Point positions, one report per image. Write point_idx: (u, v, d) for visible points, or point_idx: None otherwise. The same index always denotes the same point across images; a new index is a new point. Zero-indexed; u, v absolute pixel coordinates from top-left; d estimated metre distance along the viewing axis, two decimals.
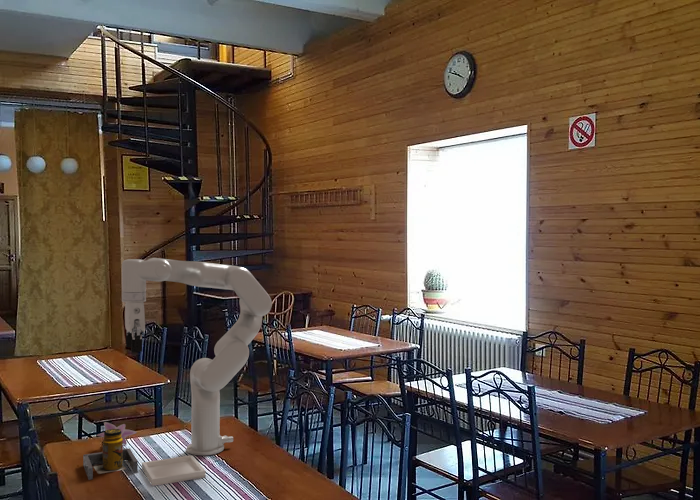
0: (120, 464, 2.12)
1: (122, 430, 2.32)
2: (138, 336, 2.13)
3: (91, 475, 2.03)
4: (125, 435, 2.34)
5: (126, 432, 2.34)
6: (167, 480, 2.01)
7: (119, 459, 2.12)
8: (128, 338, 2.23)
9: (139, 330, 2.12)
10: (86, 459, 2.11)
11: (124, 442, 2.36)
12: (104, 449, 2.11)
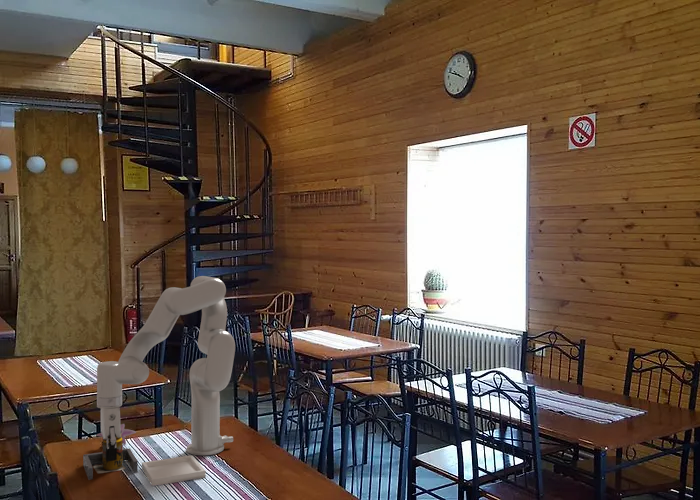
0: (120, 464, 2.12)
1: (121, 430, 2.32)
2: (112, 446, 2.08)
3: (91, 475, 2.03)
4: (124, 435, 2.35)
5: (125, 431, 2.34)
6: (167, 480, 2.01)
7: (119, 459, 2.12)
8: None
9: (113, 442, 2.06)
10: (86, 459, 2.11)
11: (124, 442, 2.36)
12: (104, 449, 2.11)
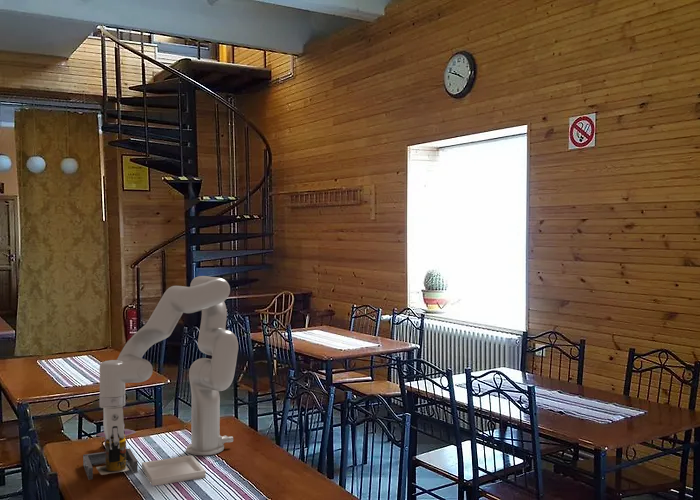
0: (123, 465, 2.08)
1: None
2: (115, 446, 2.03)
3: (91, 475, 2.03)
4: None
5: (125, 431, 2.34)
6: (167, 480, 2.01)
7: (122, 460, 2.07)
8: None
9: (116, 443, 2.02)
10: (86, 459, 2.11)
11: None
12: (107, 449, 2.06)
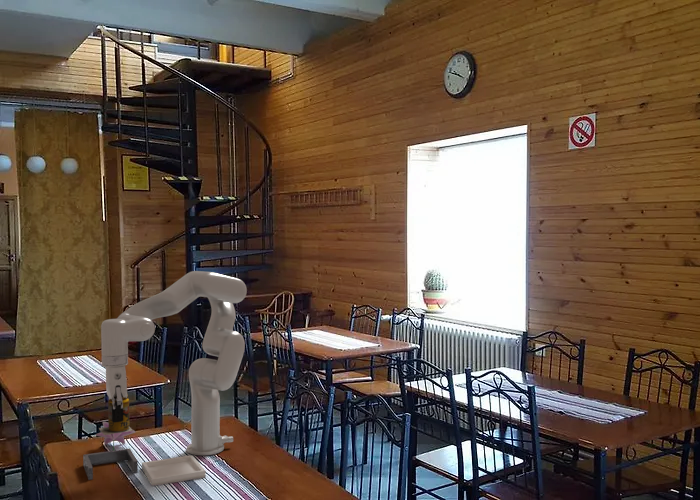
0: (127, 425, 2.03)
1: None
2: (119, 406, 1.99)
3: (91, 475, 2.03)
4: (124, 434, 2.35)
5: None
6: (167, 480, 2.01)
7: (125, 420, 2.03)
8: None
9: (120, 402, 1.97)
10: (86, 459, 2.11)
11: (123, 441, 2.37)
12: (110, 410, 2.02)
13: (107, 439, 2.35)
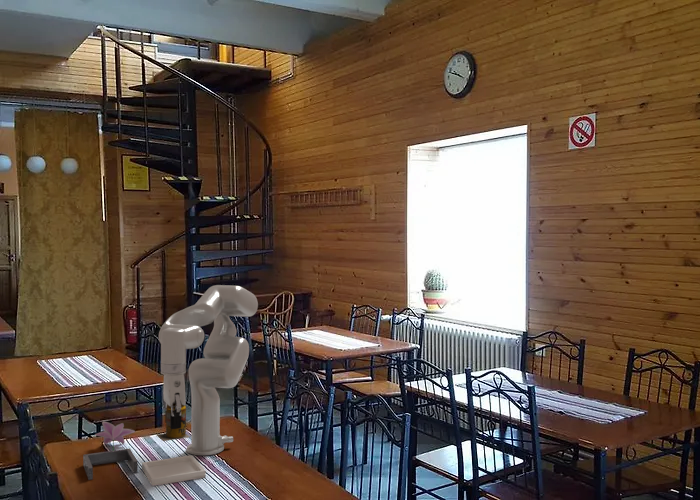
0: (184, 432, 2.08)
1: (120, 429, 2.33)
2: (178, 413, 2.04)
3: (91, 475, 2.03)
4: (123, 434, 2.35)
5: (124, 431, 2.35)
6: (167, 480, 2.01)
7: (183, 427, 2.08)
8: None
9: (179, 409, 2.02)
10: (86, 459, 2.11)
11: (122, 441, 2.37)
12: (168, 416, 2.07)
13: (107, 438, 2.35)
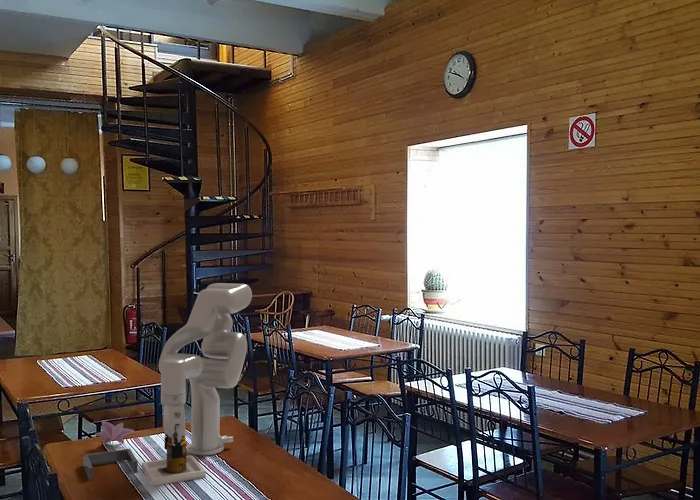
0: (184, 466, 2.09)
1: (120, 429, 2.33)
2: (179, 443, 2.03)
3: (91, 475, 2.03)
4: (123, 434, 2.36)
5: (124, 431, 2.35)
6: (167, 480, 2.01)
7: (183, 462, 2.08)
8: (167, 440, 2.12)
9: (180, 437, 2.02)
10: (86, 459, 2.11)
11: (122, 441, 2.37)
12: (168, 451, 2.07)
13: (106, 438, 2.36)
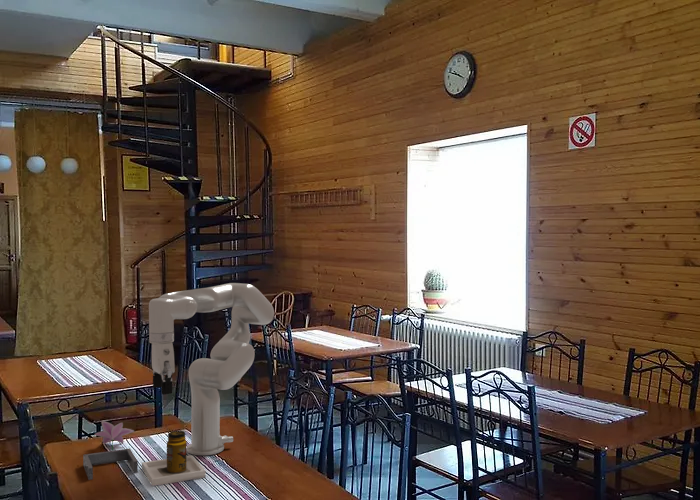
0: (184, 466, 2.09)
1: (119, 429, 2.33)
2: (169, 378, 2.08)
3: (91, 475, 2.03)
4: (122, 434, 2.36)
5: (123, 431, 2.35)
6: (167, 480, 2.01)
7: (183, 462, 2.08)
8: (155, 378, 2.17)
9: (170, 372, 2.07)
10: (86, 459, 2.11)
11: (121, 441, 2.37)
12: (168, 451, 2.07)
13: (106, 438, 2.36)
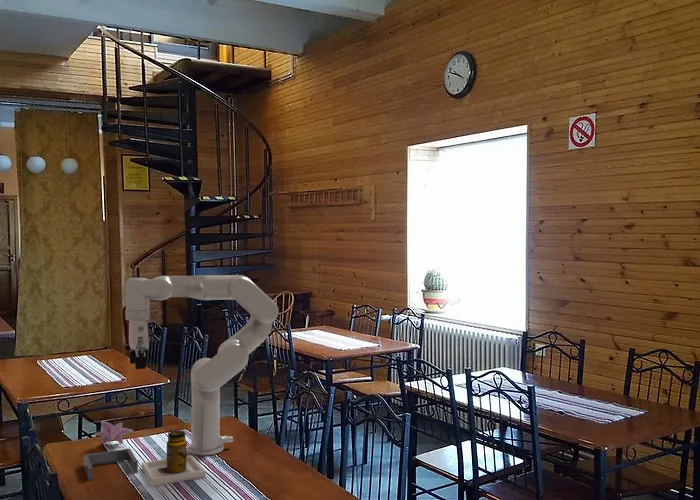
0: (184, 466, 2.09)
1: (119, 429, 2.34)
2: (142, 354, 2.18)
3: (91, 475, 2.03)
4: (122, 433, 2.36)
5: (123, 430, 2.35)
6: (167, 480, 2.01)
7: (183, 462, 2.08)
8: (132, 355, 2.27)
9: (143, 348, 2.16)
10: (86, 459, 2.11)
11: (121, 441, 2.38)
12: (168, 451, 2.07)
13: (105, 438, 2.36)
